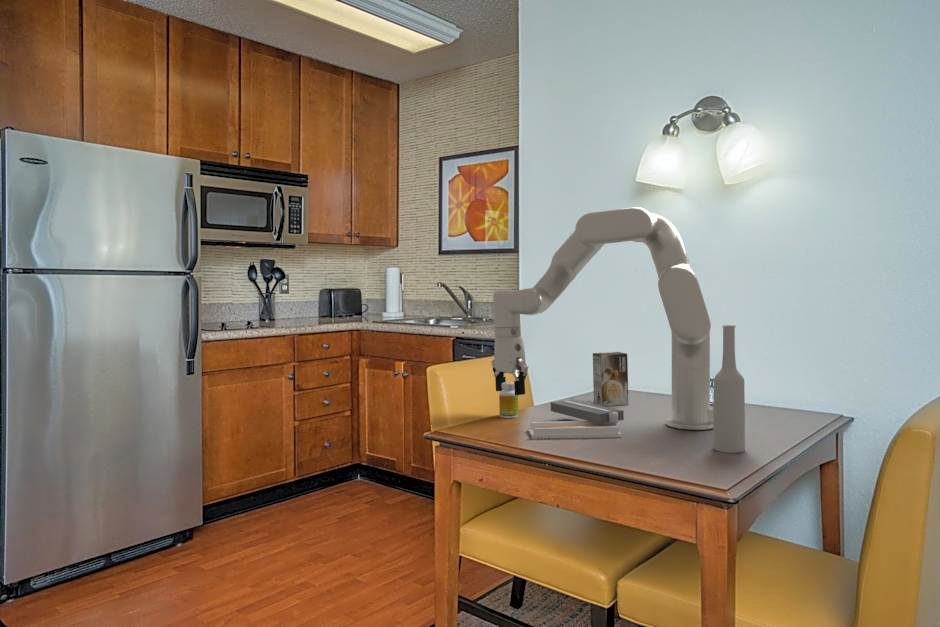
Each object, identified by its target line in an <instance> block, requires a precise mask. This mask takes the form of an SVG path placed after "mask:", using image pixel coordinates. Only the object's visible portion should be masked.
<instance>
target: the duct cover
mask: <svg viewBox="0 0 940 627" xmlns="http://www.w3.org/2000/svg"><path fill="white" fill-rule="evenodd" d="M550 412H553V413H557V414H561V415H564V416H568V417H573V418H576V419H580V420H582V421H591V422H595V423H599V424H602V423H608V422H609V423H616V424H618V423H619V422H620V421H624V420H625V419H624V416H625V414H624V412H625V411H624V410H622V409H617V408H614V407H611V406H601V405H597V404H594V403H592V402H591V403H590V402H587V401H581V400H578V399H567V400H560V401H559V400H558V401H553V402H552V401H551V402H550Z"/></svg>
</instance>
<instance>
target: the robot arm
mask: <svg viewBox="0 0 940 627" xmlns="http://www.w3.org/2000/svg"><path fill="white" fill-rule="evenodd" d="M623 242H624V243H625V242H634V243H643V244H645V246H647V248H648V249H649V251H650V255H651V257H652V261H653V264H654V267H655V270H656V273H657V277H658V281H657V287H658V291H659V294H660V299H661V302H662V305H663V308H664V311H665V314H666V317H667V322H668V324H669V328H670V331H671V333H670V334H671V417H668V418H666V419H665V424H666V425H667V426H668V427H670V428H674V429H679V430H688V431H689V430H690V431H705V430H706V431H707V430H711V429H712V430H713V412H714V408H711V402H710V401H711V394H710V393H711V382H710V381H711V380H710V379H711V377H710V376H711V375H710V374H711V372H710V370H711V368H710V367H711V346H710V345H711V344H710V342H711V341H710V340H711V338H710V337H711V336H710V335H711V327H712V325H711V324H712V323H711V319H710V316H709V312H708V309H707V306H706V303H705V299H704V296H703V293H702V290H701V286H700V284H699V279H698V278H697V275H696V273H695V272H694V271H693V268H692V266H691V263H690V260H689V256H688V254H687V251H686V248H685V245H684V242H683V240H682V238H681V235H680V233H679V231H678V230H677V228H676V227H675V225H674V224H672V222H671V221H669V220H668V219H666V218H665V217H664V216H661V215H658V214H655V213H653V212H652V213H651V212H650V211H648V210H647V209H645V208H643V207H638V206H637V207H636V206H634V207H625V208H618V209H611V210H603V211H596V212H595V211H594V212H588V213H585V214H583V215H582V216H581V217H580V218H579V219H578V220H577V222H576V224H575V230H574V231H573V232H572V233H571V235H569V236H568V238H567V239H566V240H565V241H564V243H563V244H562V245H560V247H559V248H558V249H557V250H556V251H555V253H553V256H552V258H551V262H550V265H549V267H548V269H547V270H546V271H545V273H544V274H543V276H542V277H541V278H540V279H539V280H538V281H537V282H536V283H535V284H534V286H533V287H530V288H524V289H517V290H516V289H502V290H501V289H500V290H496V291H495V292H493V294H492V301H493V303H492V304H493V306H492V307H493V324H494V325H493V326H494V327H493V328H494V353H493V354H494V356H493V357H494V358H493V360H491V362H490V363H491V366H492V367H491V368H492V371H493V373H494V374H493V376H494V378H495V379H494V380H495V391H496V392H500V391H501V390H502V383H504V382H507V381H506V376H505V374H512V375H513V378H514V379H515V380H513V383H514V390H515V395H518V396H521V395H525V394H526V385H525V381H526V379H527V378H526V377H527V375H528V370H529V365H528V364H527V361H526V353H525V352H526V350H525V345H524V341H523V338H522V330H521V329H522V327H521V326H522V324H521V315H524V316H535V315H539V314H542V313H544V312H546V311H547V310H548V309H549V308H550V307H551V306H552V305H553V304H554V303H555V302H556V301H557V299H558V298H559V297H560V296H561V295H562V294H563V293H564V291H565V290H566V289H567V288H568V287H569V285H570V284H571V282H573V281H574V280H575V279H576V277H577V276H578V275H579V273H580V272H581V271H582V270H583V269H584V268H585V266H586V265H587V264H588V263H589V262H590V261H591V260H592V258H594V257H595V256H596V254H597V253H598V252H599V251H600V250H601V249H602V248H603V246H604V245H606V244H614V243H623Z"/></svg>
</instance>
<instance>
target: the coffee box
mask: <svg viewBox="0 0 940 627" xmlns="http://www.w3.org/2000/svg"><path fill="white" fill-rule="evenodd" d="M628 366H629V364H628V353H626V352H619V351H611V352H610V351H608V352H607V351H606V352H592V376H593V377H592V379H593V381H592V382H593V384H592V386H593V404H596V405H601V406H605V407H615V406H627V405H629V374H628V373H629V371H628V368H629V367H628Z"/></svg>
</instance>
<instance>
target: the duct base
mask: <svg viewBox="0 0 940 627" xmlns="http://www.w3.org/2000/svg"><path fill="white" fill-rule="evenodd" d="M528 430H529V431H528ZM528 430H527V431H528V432H529V435H531V436H530V438H531V440H546V439H547V440H551V439H555V440H557V439H600V438H601V439H602V438H604V439H605V438H622V436H623V435H622V433H621V432H620V427H619V426H618V425H617V423H609V422H608V423H602V424H599V423H595V422H591V421H587V420H569V421H567V420H566V421H565V420H564V421H563V420H562V421H530V427H528ZM538 438H539V439H538ZM541 438H542V439H541ZM545 438H546V439H545ZM548 438H550V439H548Z"/></svg>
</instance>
